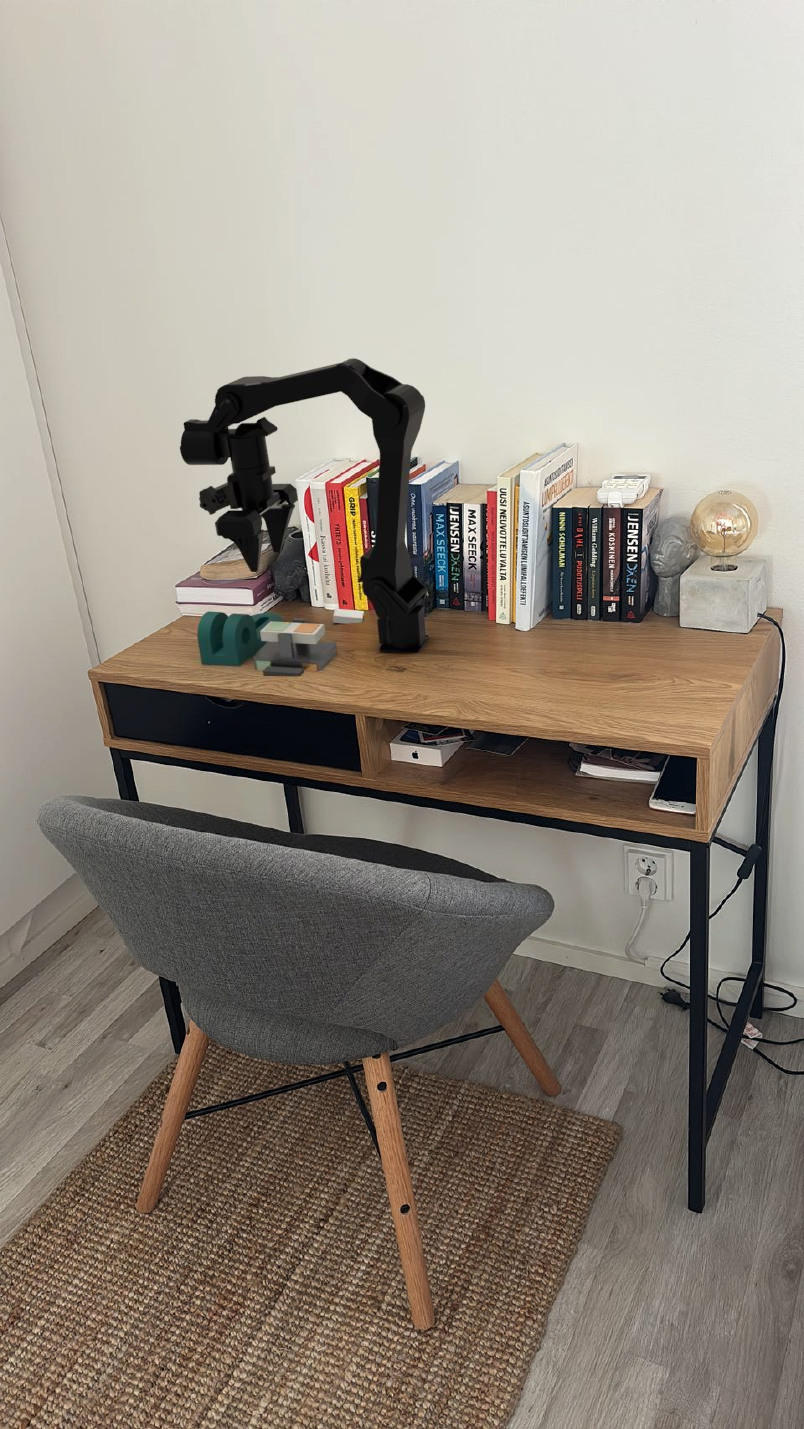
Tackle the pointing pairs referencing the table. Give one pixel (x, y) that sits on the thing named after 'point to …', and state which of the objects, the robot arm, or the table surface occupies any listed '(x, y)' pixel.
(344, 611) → the eraser
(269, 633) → the rocker switch
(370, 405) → the robot arm
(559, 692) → the table surface
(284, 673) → the dark grey rectangular bar
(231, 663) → the bracket
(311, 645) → the grey stand
